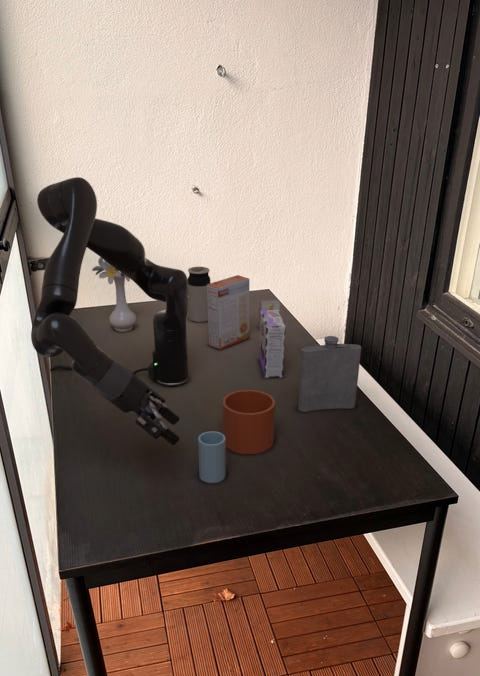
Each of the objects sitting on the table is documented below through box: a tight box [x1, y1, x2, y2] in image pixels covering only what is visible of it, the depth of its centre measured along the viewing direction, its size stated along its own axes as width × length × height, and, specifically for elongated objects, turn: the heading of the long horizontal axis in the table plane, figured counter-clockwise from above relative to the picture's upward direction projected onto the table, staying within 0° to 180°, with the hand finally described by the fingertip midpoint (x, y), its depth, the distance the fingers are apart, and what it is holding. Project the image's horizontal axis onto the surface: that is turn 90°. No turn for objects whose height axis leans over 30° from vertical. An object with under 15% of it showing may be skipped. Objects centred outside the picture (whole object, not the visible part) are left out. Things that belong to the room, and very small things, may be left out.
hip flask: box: [297, 335, 362, 413], centre depth 171 cm, size 16×4×20 cm, turn 99°
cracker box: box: [207, 274, 250, 350], centre depth 210 cm, size 14×6×21 cm, turn 134°
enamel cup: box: [197, 430, 227, 484], centre depth 145 cm, size 6×6×10 cm
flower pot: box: [221, 389, 276, 455], centre depth 158 cm, size 13×13×11 cm
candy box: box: [259, 310, 286, 379], centre depth 193 cm, size 14×6×16 cm, turn 5°
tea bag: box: [258, 299, 281, 330], centre depth 223 cm, size 4×7×10 cm, turn 98°
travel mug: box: [187, 266, 211, 323], centre depth 229 cm, size 8×8×18 cm
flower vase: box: [91, 256, 138, 333], centre depth 219 cm, size 13×18×25 cm
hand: (176, 431), depth 141 cm, fingers open, 8 cm apart
